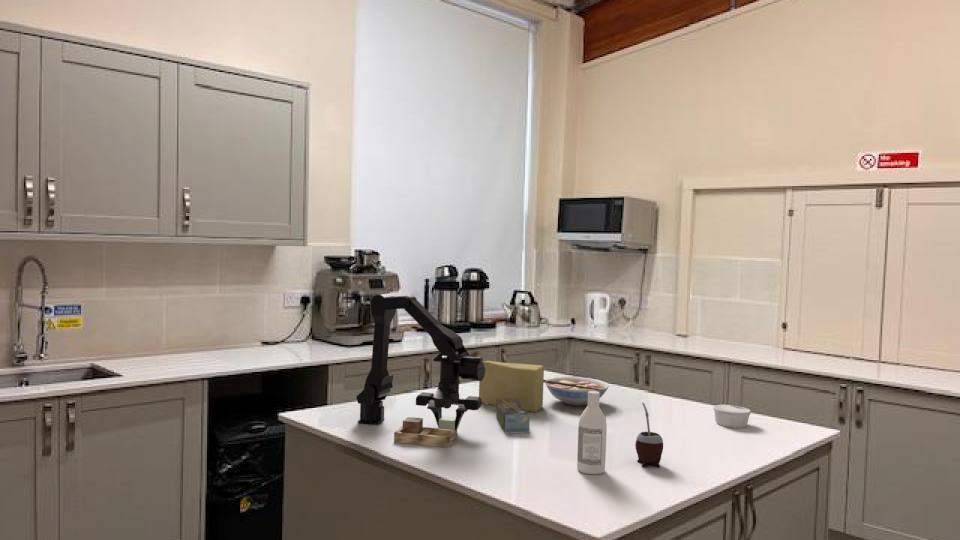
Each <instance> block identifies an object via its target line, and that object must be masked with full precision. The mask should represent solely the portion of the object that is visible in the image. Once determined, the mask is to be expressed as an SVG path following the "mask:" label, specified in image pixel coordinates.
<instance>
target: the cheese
mask: <svg viewBox="0 0 960 540" xmlns="http://www.w3.org/2000/svg"><path fill="white" fill-rule="evenodd" d="M482 362H483V363H484V366H485V375H484V378H483V380H482V381H478V382H479V383H478V384H479V385H478V397H480V398H481V400H482V403H487V404H486V405H488V404H493V405H492V406H494V405H496V400H497V399H517V398H518V399H519V400H520V401H521V402H522V404H523V405H524V407H525V409H526V410H527V412H530V411H531V413H537V412H538V411H539V410H541V409H542V408H543V402H544V401H543V400H544V383H543V381H544V380H545V378H544V375H545V374H544V373H545V367H544V365H540V364H539V365H538V364H530V363H529V364H528V363H512V362H501V361H493V360H485V361H484V360H483V361H482Z"/></svg>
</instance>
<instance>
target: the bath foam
mask: <svg viewBox="0 0 960 540" xmlns="http://www.w3.org/2000/svg"><path fill="white" fill-rule="evenodd" d="M600 399H601V398H600V393H599V392H597V391H589V392H588V404H586V405H587V406H586V408H585V409H584V410H583V412H582V413H581V415H580V416H579V420H578V429H577V430H578V432H577V457H576V459H577V462H576V468H577V471H579V472H580V473H583V474H585V475H594V476H595V475H601V474H603V473H604V472H605V471H606V455H607V454H606V451H607V450H606V449H607V419H606V417H605V416H606V415H605V414H604V412H603V411H602V409H601V407H600Z"/></svg>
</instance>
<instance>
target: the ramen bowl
mask: <svg viewBox="0 0 960 540" xmlns="http://www.w3.org/2000/svg"><path fill="white" fill-rule="evenodd" d="M544 383H545V386H546V387H547V389H548V391H549V392H550V394H551V396H553V397H554V398H555V399H557V400H559V401H560V402H564V404H566V405H569V406H575V407H582V406H583V407H584V406H586V405H588V392H589V391H597V392H599V393H600V399H601V398H602V396H604V394H605V393H606V392H607V391H608V389H609V387H610V384H609V383H608V382H606V381H603V380H601V379H596V378H591V377H580V376H558V377H551V378H547V379H544V381H543V384H544Z"/></svg>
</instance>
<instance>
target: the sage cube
mask: <svg viewBox="0 0 960 540" xmlns="http://www.w3.org/2000/svg"><path fill="white" fill-rule="evenodd" d="M455 420H456V416H449V415H448V416H446V415H442V417H441V418H440V419H439V429H450V430H455Z"/></svg>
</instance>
